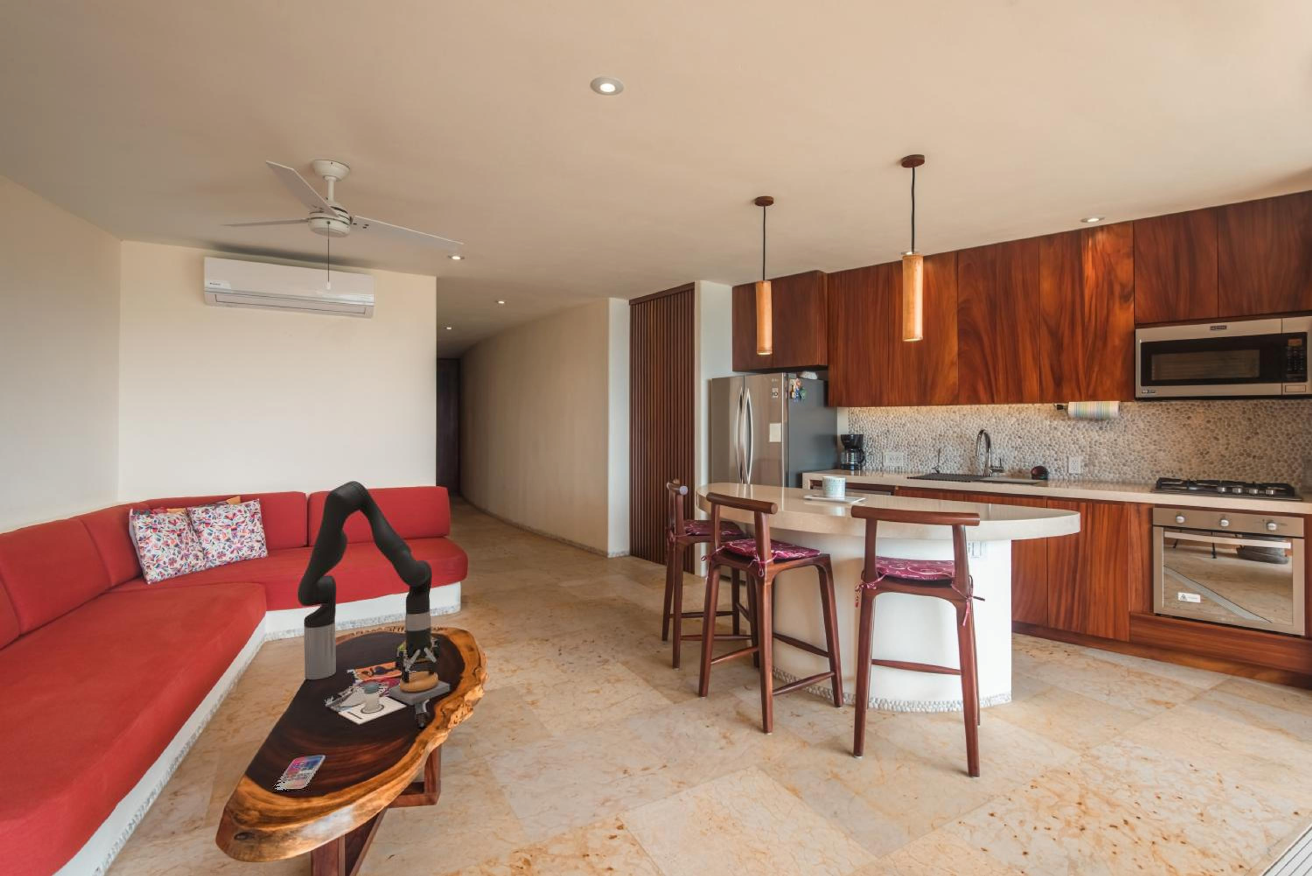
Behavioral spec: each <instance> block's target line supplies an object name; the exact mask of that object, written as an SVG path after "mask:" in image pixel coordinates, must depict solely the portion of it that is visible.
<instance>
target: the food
mask: <svg viewBox="0 0 1312 876" xmlns="http://www.w3.org/2000/svg"><path fill="white" fill-rule="evenodd" d="M433 639H436V638H435V637H434V636H432V635H431V641H433ZM405 648H406V642H405V640H404V641H403V643H401V645H399V647H397V649H396V650H403V649H405ZM429 651H430V652H431V653H432V654H433V647H432V646H431V648H430V650H429ZM406 656H407V654H406V653H405V656H404V659H405V657H406ZM404 659H403V661H404ZM409 660H410V659H409ZM426 661H429V660H428V659H427V658H426V657H425V658H421V659H419V660H415V661H414V663H420V662H421V663H422V662H426Z"/></svg>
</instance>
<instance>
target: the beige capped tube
mask: <svg viewBox="0 0 1312 876" xmlns="http://www.w3.org/2000/svg"><path fill="white" fill-rule="evenodd" d="M369 682H370V683H367V684H365V685H364V701H363V704H364V709H365V711H374V710H377V709H379V707H380V706H379V698H380V694H379V686H380V685H379V682H380V681H369Z"/></svg>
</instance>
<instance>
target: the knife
mask: <svg viewBox="0 0 1312 876" xmlns="http://www.w3.org/2000/svg"><path fill="white" fill-rule="evenodd" d="M429 701H430V699H427V700H424V701H421V702H418V703H415V704H414V710H415V715H414V719H415V721H417V723H418V727H419V728H423V727H425V726H427V725H428V722H427V721H426V719H427V718H430V713H429V712H428V711H427V709H426V708H427V707H426V704H427V703H428V702H429Z"/></svg>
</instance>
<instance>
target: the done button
mask: <svg viewBox="0 0 1312 876" xmlns="http://www.w3.org/2000/svg"><path fill="white" fill-rule="evenodd" d="M438 680H439V675H438V673H437V672H434V674H432V675H431V674H429V673H428V670H427V671H417V672H413V673H409V683H404V682H403V681H402V677H401V678H400V679H399V685H400V689H401V690H404V691H411V692H412V691H421V690H426V689H429V688H431V687H433V686H435V685H436V684H437V683H438Z"/></svg>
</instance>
